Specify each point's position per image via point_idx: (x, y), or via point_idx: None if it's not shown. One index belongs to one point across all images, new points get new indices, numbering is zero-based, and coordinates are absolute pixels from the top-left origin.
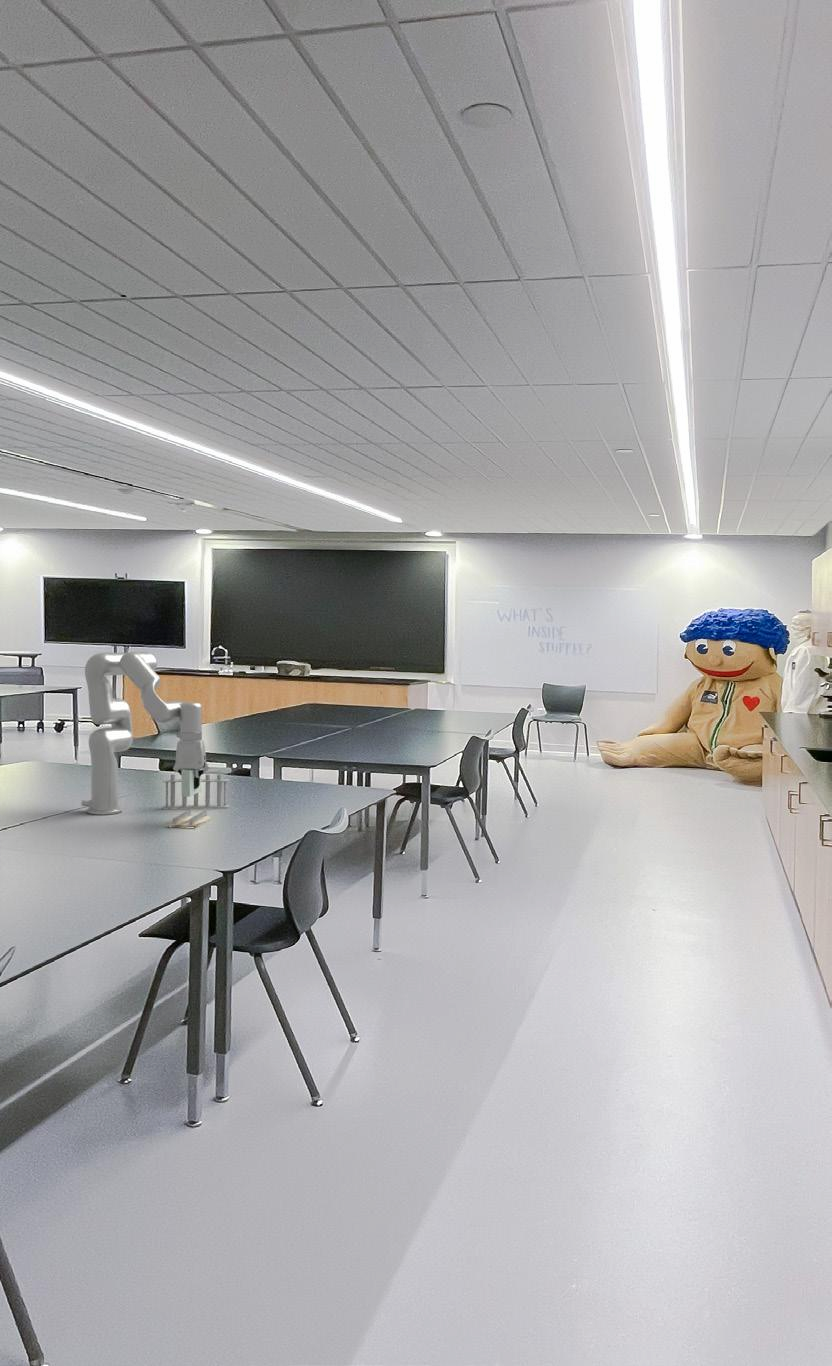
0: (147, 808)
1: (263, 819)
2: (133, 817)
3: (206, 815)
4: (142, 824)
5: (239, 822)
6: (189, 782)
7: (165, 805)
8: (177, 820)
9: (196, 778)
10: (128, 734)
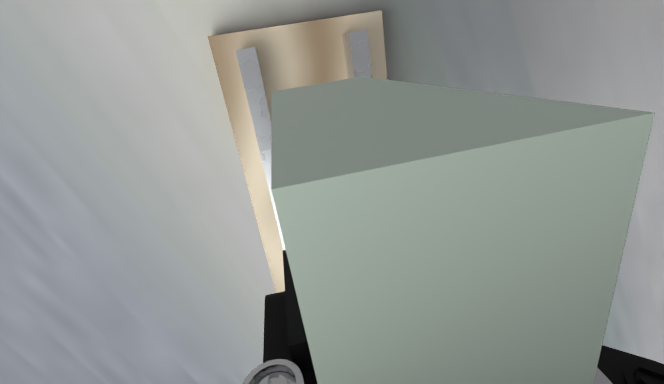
0: None
1: (48, 374)
2: None
3: None
4: (531, 48)
5: (102, 278)
6: (276, 110)
7: None
8: (349, 67)
9: (291, 360)
10: None
